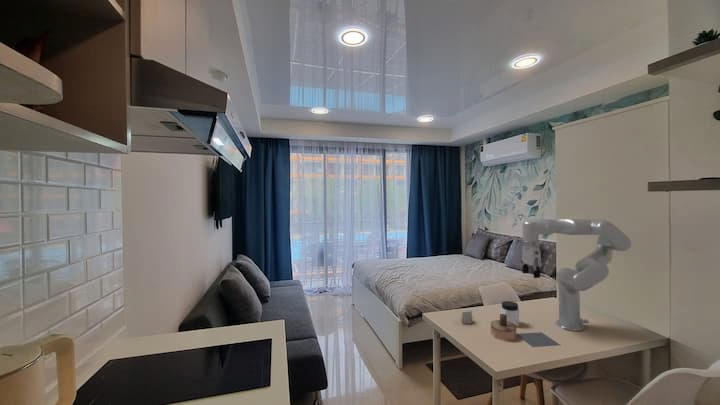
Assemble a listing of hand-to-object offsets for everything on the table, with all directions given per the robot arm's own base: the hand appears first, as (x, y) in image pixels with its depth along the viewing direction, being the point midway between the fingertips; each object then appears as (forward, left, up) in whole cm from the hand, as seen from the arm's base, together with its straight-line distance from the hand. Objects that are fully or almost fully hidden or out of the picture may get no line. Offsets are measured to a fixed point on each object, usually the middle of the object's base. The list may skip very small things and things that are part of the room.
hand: (531, 275), depth 168 cm
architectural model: (+33, -10, -29) cm, 45 cm away
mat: (+7, +15, -28) cm, 33 cm away
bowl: (+21, +9, -28) cm, 36 cm away
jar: (+10, -4, -28) cm, 30 cm away
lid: (+21, +9, -23) cm, 33 cm away
